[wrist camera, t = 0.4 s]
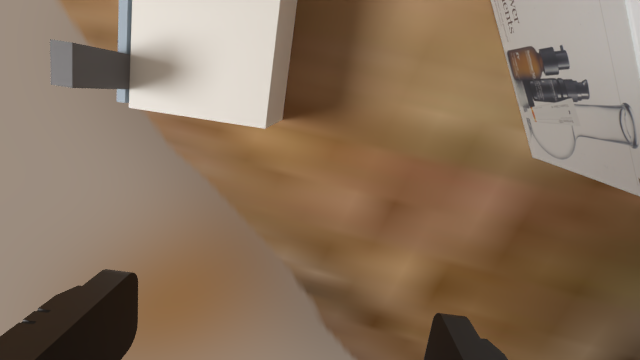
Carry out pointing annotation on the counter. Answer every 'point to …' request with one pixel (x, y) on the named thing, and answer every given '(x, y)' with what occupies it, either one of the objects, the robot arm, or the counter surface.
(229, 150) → the counter surface
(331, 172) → the counter surface
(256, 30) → the carton
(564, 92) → the skincare box
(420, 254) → the counter surface
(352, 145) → the counter surface
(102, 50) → the front flap
